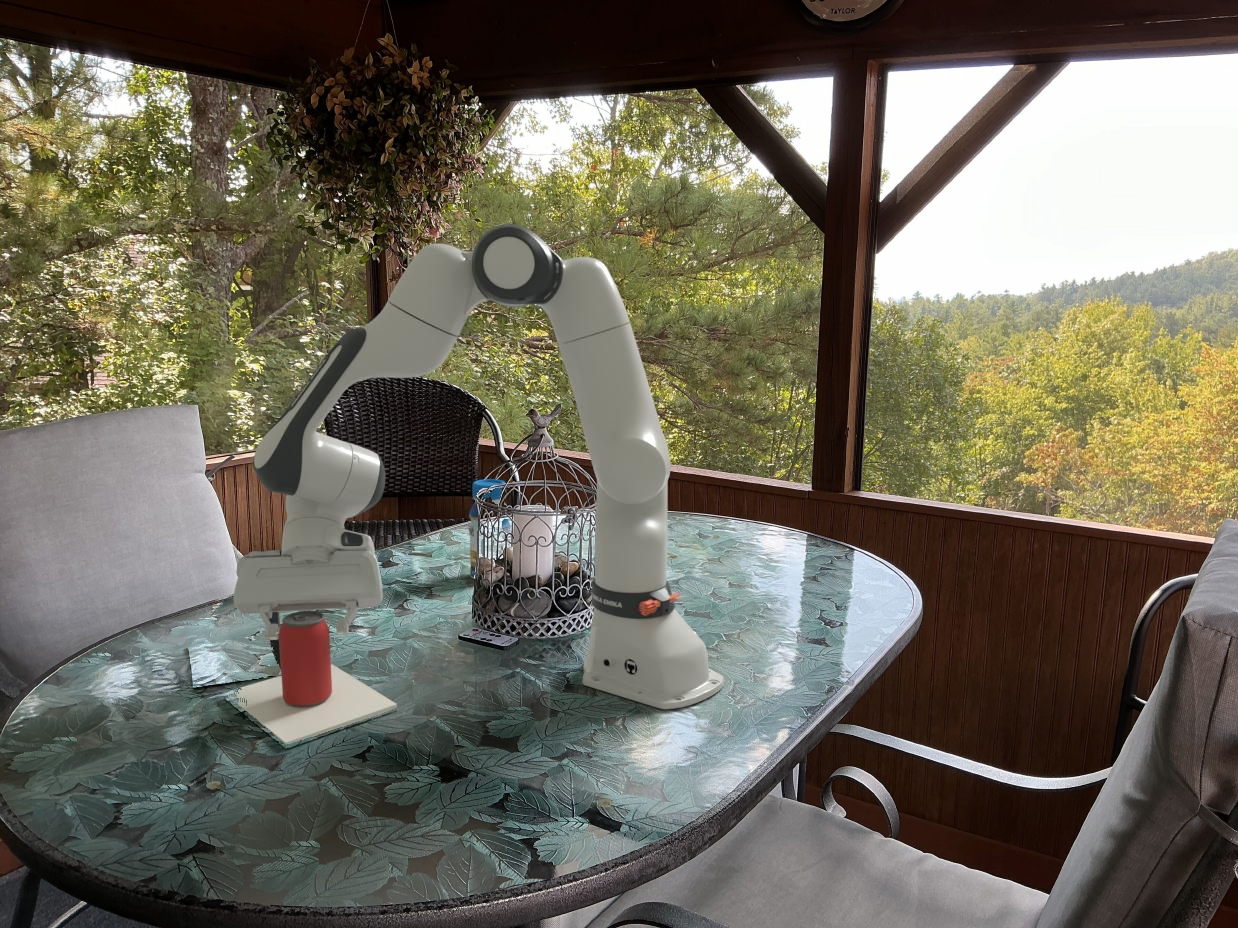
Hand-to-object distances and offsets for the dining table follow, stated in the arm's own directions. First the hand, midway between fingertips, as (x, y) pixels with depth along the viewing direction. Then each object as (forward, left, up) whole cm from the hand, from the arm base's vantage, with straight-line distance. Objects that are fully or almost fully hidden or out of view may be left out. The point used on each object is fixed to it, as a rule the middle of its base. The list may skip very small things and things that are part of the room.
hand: (307, 636), depth 125 cm
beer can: (0, 0, -9) cm, 9 cm away
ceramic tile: (0, 0, -10) cm, 10 cm away
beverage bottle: (+30, -54, -10) cm, 62 cm away
